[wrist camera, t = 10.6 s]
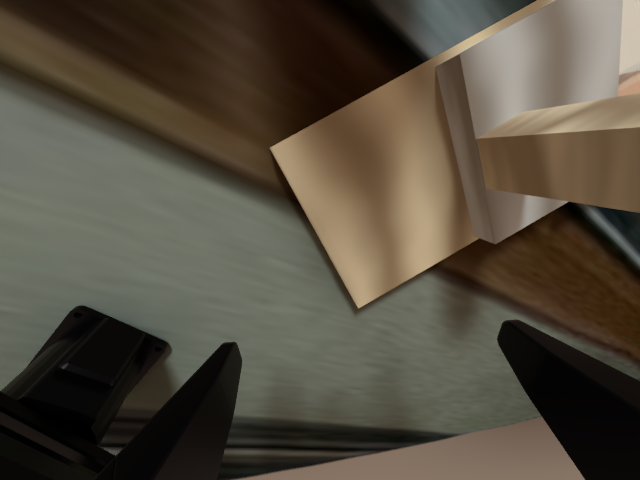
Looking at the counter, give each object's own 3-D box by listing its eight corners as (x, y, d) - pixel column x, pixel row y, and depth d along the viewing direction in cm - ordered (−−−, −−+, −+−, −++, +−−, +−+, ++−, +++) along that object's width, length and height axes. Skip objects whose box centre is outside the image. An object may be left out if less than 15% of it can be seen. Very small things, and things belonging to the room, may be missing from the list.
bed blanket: (474, 235, 20) (734, 337, 9) (435, 66, 15) (937, -188, 4) (581, 173, 20) (961, 196, 9) (580, -15, 15) (1437, -466, 4)
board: (352, 298, 21) (358, 308, 20) (269, 148, 16) (270, 147, 14) (550, 183, 22) (569, 185, 20) (538, -1, 16) (564, -15, 15)
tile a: (567, 87, 18) (610, 77, 16) (564, 10, 16) (614, -14, 14) (621, 56, 18) (672, 42, 16) (625, -24, 16) (684, -53, 14)
